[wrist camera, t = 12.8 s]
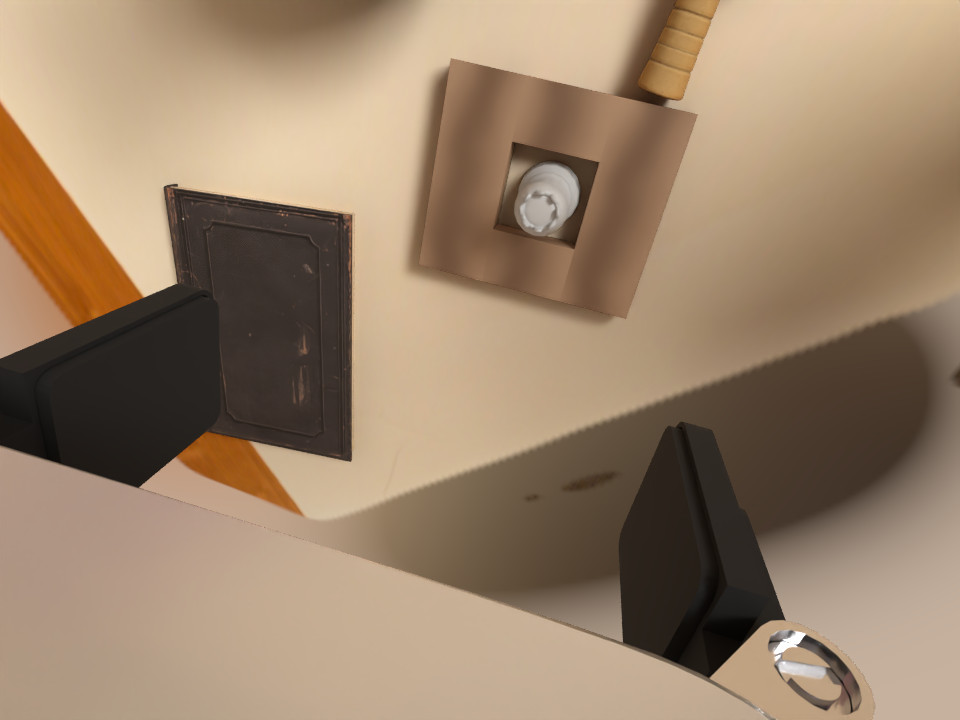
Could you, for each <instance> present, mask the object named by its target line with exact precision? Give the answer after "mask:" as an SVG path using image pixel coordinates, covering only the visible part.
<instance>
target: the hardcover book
mask: <svg viewBox="0 0 960 720" xmlns="http://www.w3.org/2000/svg"><path fill="white" fill-rule="evenodd" d="M164 193H165V200H166V206H167V213H168V220H169V227H170V234H171V241H172V248H173V254H174V261H175V268H176V275H177V282H178V284H179V283H181V284H185V285H189V286H192V287H196V288H200V289H203V290H207V291H209V292H210V293H211V295H212V297H213V299H214V300H216V301H217V303H218V306H219V339H220V397H221V410H220V415H219V417H218V419H217V421H216V423H215V424H214V425H213V426H212V427H211V428H210V429H208V430H207V431H206V432H211V433H216V434H221V435H225V436H230V437H235V438H240V439H244V440H249V441H254V442H259V443H264V444H268V445H273V446H278V447H283V448H287V449H292V450H297V451H302V452H307V453H311V454H316V455H321V456H326V457H330V458H335V459H340V460H345V461H350V462H351V461H352V450H353V444H354V253H355V214H354V213H347V212H341V211H334V210H327V209H321V208H314V207H308V206H301V205H294V204H288V203H281V202H274V201H268V200H261V199H255V198H248V197H241V196H235V195H228V194H221V193H215V192H208V191H201V190H195V189H188V188H182V187H178V184H172V185H167V186H165V187H164Z"/></svg>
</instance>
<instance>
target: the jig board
mask: <svg viewBox="0 0 960 720" xmlns="http://www.w3.org/2000/svg"><path fill="white" fill-rule="evenodd" d="M697 115H698V114H693V113H689V112H685V111H680V110H676V109H671V108H667V107H663V106H658V105H654V104H649V103H645V102H641V101H636V100H632V99H627V98H623V97H619V96H614V95H610V94H605V93H601V92H597V91H592V90H588V89H583V88H579V87H575V86H570V85H566V84H561V83H557V82H553V81H548V80H544V79H539V78H535V77H531V76H526V75H522V74H517V73H513V72H509V71H504V70H500V69H495V68H491V67H487V66H482V65H478V64H473V63H469V62H465V61H460V60H456V59H451V62H450V68H449V74H448V81H447V87H446V94H445V100H444V106H443V113H442V119H441V125H440V132H439V138H438V144H437V151H436V157H435V163H434V170H433V176H432V183H431V189H430V195H429V202H428V208H427V214H426V221H425V227H424V233H423V240H422V246H421V252H420V259H419V265H422V266H426V267H429V268H433V269H437V270H441V271H445V272H449V273H452V274H456V275H460V276H464V277H468V278H472V279H475V280H479V281H483V282H487V283H491V284H495V285H498V286H502V287H506V288H510V289H514V290H518V291H521V292H525V293H529V294H533V295H537V296H541V297H544V298H548V299H552V300H556V301H560V302H564V303H567V304H571V305H575V306H579V307H583V308H587V309H590V310H594V311H598V312H602V313H606V314H610V315H613V316H617V317H621V318H625V319H626V317H627V314H628V311H629V308H630V305H631V302H632V300H633V297H634V294H635V291H636V288H637V285H638V283H639V280H640V277H641V274H642V271H643V268H644V266H645V263H646V260H647V257H648V254H649V251H650V249H651V246H652V243H653V240H654V237H655V234H656V232H657V229H658V226H659V223H660V220H661V217H662V215H663V212H664V209H665V206H666V203H667V200H668V198H669V195H670V192H671V189H672V186H673V183H674V181H675V178H676V175H677V172H678V169H679V166H680V164H681V161H682V158H683V155H684V152H685V149H686V147H687V144H688V141H689V138H690V135H691V132H692V130H693V127H694V124H695V121H696V118H697ZM515 142H516V143H521V144H525V145H529V146H533V147H537V148H542V149H546V150H550V151H554V152H558V153H563V154H567V155H571V156H575V157H579V158H584V159H588V160H592V161H596V162H599V163H598V167H597V170H596V174H595V177H594V181H593V184H592V188H591V191H590V195H589V198H588V202H587V205H586V208H585V212H584V215H583V219H582V222H581V226H580V229H579V233H578V236H577V240H576V243H572V242H568V241H564V240H560V239H556V238H552V237H548V236H533V235H531V234H529V233H527V232H525V231H524V230H520V229H516V228H512V227H508V226H504V225H501V224H498V220H499V215H500V210H501V206H502V201H503V197H504V192H505V187H506V183H507V178H508V174H509V169H510V164H511V160H512V155H513V151H514V146H515Z"/></svg>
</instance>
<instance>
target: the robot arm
mask: <svg viewBox="0 0 960 720" xmlns="http://www.w3.org/2000/svg"><path fill="white" fill-rule="evenodd" d="M220 410H221V397H220V339H219V306H218V303H217V301H216V300H214V299H213V297H212V295H211V293H210V292H209V291H207V290H203V289H200V288H196V287H192V286H189V285H185V284H181V283H179V284H175V285H173V286H171V287H168V288H166V289H164V290H161V291H159V292H156V293H154V294H152V295H149V296H147V297H145V298H142V299H140V300H138V301H135V302H133V303H131V304H128V305H126V306H124V307H121V308H119V309H116V310H114V311H112V312H109V313H107V314H105V315H102V316H100V317H98V318H95V319H93V320H91V321H88V322H86V323H84V324H81V325H79V326H76V327H74V328H72V329H69V330H67V331H65V332H62V333H60V334H58V335H55V336H53V337H51V338H48V339H46V340H44V341H41V342H39V343H36V344H34V345H32V346H29V347H27V348H25V349H22V350H20V351H18V352H15V353H13V354H11V355H8V356H6V357H4V358H1V359H0V720H872V719H873V715H874V710H875V703H874V698H873V694H872V690H871V688H870V687H869V685H868V683H867V681H866V679H865V677H864V675H863V674H862V673H861V671H860V670H859V669H858V668H857V666H856V665H855V664H854V663H853V662H852V660H851V659H850V658H849V657H848V656H847V655H846V654H845V653H843V651H842V650H840V649H839V648H838V647H837V646H836V645H835V644H834V643H832V642H831V641H829V640H828V639H826V638H825V637H823V636H822V635H820V634H819V633H818V632H816V631H814V630H812V629H809V628H807V627H805V626H803V625H801V624H798V623H793V622H789V621H786V620H785V618H784V615H783V612H782V609H781V607H780V604H779V601H778V599H777V595H776V593H775V590H774V587H773V584H772V582H771V579H770V576H769V573H768V570H767V568H766V565H765V562H764V560H763V557H762V554H761V551H760V548H759V546H758V543H757V540H756V537H755V534H754V532H753V529H752V526H751V524H750V521H749V518H748V516H747V514H746V512H745V510H743V509H741V508H739V505H738V502H737V500H736V497H735V494H734V491H733V488H732V485H731V483H730V479H729V477H728V474H727V471H726V468H725V465H724V462H723V459H722V456H721V454H720V451H719V448H718V445H717V442H716V439H715V436H714V434H713V432H712V430H710V429H707V428H702V427H699V426H696V425H692V424H688V423H685V422H680V423H679V424H678V425H677V427H676V428H675V427H671V426H668V427H667V428H666V429H665V431H664V433H663V436H662V438H661V440H660V442H659V445H658V447H657V449H656V452H655V454H654V456H653V458H652V461H651V463H650V465H649V468H648V470H647V472H646V475H645V477H644V479H643V482H642V484H641V487H640V489H639V491H638V493H637V495H636V498H635V500H634V502H633V505H632V507H631V509H630V512H629V514H628V516H627V519H626V521H625V523H624V526H623V528H622V531H621V534H620V539H619V563H620V584H621V608H622V629H623V643H622V642H619V641H616V640H614V639H611V638H608V637H605V636H602V635H600V634H597V633H594V632H591V631H588V630H585V629H583V628H580V627H577V626H574V625H571V624H568V623H565V622H562V621H558V620H555V619H552V618H549V617H546V616H543V615H540V614H537V613H533V612H530V611H527V610H524V609H521V608H518V607H514V606H511V605H508V604H505V603H502V602H499V601H496V600H493V599H490V598H486V597H483V596H480V595H477V594H474V593H471V592H468V591H465V590H462V589H458V588H455V587H452V586H449V585H446V584H443V583H439V582H436V581H433V580H430V579H427V578H424V577H421V576H417V575H414V574H411V573H408V572H405V571H402V570H398V569H395V568H392V567H389V566H386V565H383V564H379V563H376V562H373V561H370V560H367V559H364V558H360V557H357V556H354V555H350V554H348V553H344V552H341V551H338V550H335V549H331V548H328V547H325V546H322V545H319V544H315V543H312V542H309V541H306V540H303V539H300V538H296V537H293V536H290V535H287V534H284V533H280V532H277V531H274V530H271V529H267V528H265V527H261V526H258V525H255V524H252V523H249V522H245V521H242V520H239V519H236V518H233V517H229V516H226V515H223V514H220V513H217V512H213V511H210V510H207V509H204V508H201V507H198V506H194V505H191V504H188V503H185V502H181V501H179V500H175V499H172V498H169V497H166V496H162V495H159V494H156V493H153V492H150V491H147V490H143V489H140V488H139V487H140V486H141V485H142V484H143V483H145V482H146V481H147V480H148V479H149V478H151V477H152V476H153V475H154V474H155V473H157V472H158V471H159V470H160V469H161V468H163V467H164V466H165V465H166V464H167V463H169V462H170V461H171V460H172V459H174V458H175V457H176V456H177V455H178V454H180V453H181V452H182V451H183V450H184V449H186V448H187V447H188V446H189V445H190V444H192V443H193V442H194V441H195V440H196V439H198V438H199V437H200V436H201V435H202V434H204V433H205V432H206V431H207V430H208V429H210V428H211V427H212V426H213V425H214V424H215V423H216V421H217V419H218V417H219V415H220Z"/></svg>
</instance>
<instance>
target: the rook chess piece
mask: <svg viewBox="0 0 960 720" xmlns="http://www.w3.org/2000/svg"><path fill="white" fill-rule="evenodd" d="M580 192H581V189H580V185H579V182H578V178H577V176H576V175H575V174H574V173H573V171H572V170H571V169H570V168H569V167H567V166H565V165H563V164H561V163H559V162H552V161H545V162H542V163H539V164H537V165H534V166H533V167H532V168H531V169H530V170H528V171H527V172H526V173H525V174H524V176H523V178H522V181H521V183H520V185H519V188H518V196H517V198H516V201H515V206H514V214H515V217H516V220H517V223H518V224H519V225H520V227H521V228H522V229H523V230H524V231H525V232H527V233H529V234H531V235H533V236H546V235H549V234H552V233H554V232H556V231H557V230H558V229H559V228H560V227H561V226H562V225H563V223H564V222H565V221H566V220H567V219H568V218H569V217H570V216H572V215H573V213H574V212H575V210H576V208H577V206H578V204H579V202H580Z"/></svg>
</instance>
